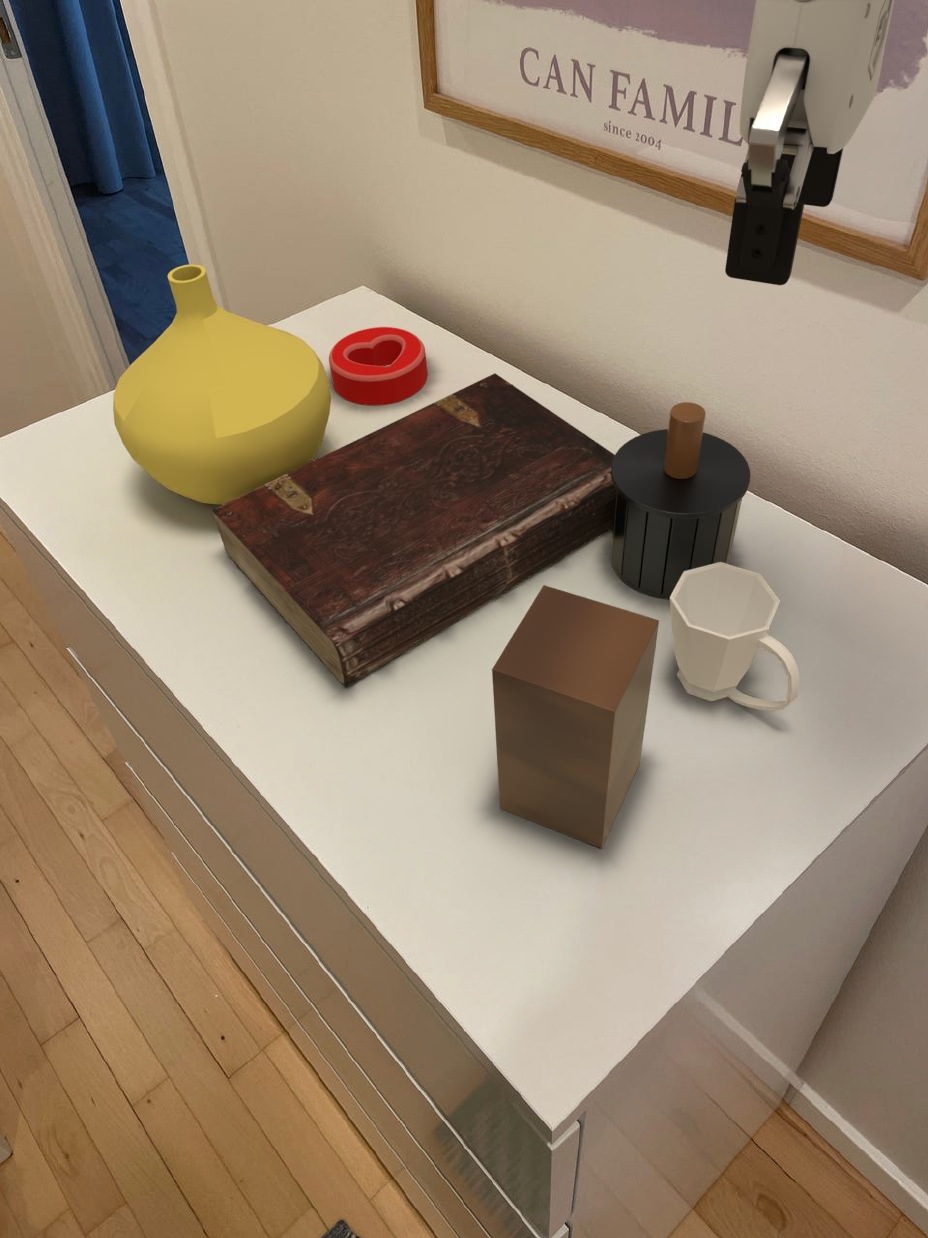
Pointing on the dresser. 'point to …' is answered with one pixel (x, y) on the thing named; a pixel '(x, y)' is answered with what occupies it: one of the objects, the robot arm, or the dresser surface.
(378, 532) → the book
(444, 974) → the dresser surface
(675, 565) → the dark grey slatted bucket
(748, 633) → the cup
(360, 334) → the decorative ornament
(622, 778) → the stand
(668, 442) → the lid
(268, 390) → the vase
